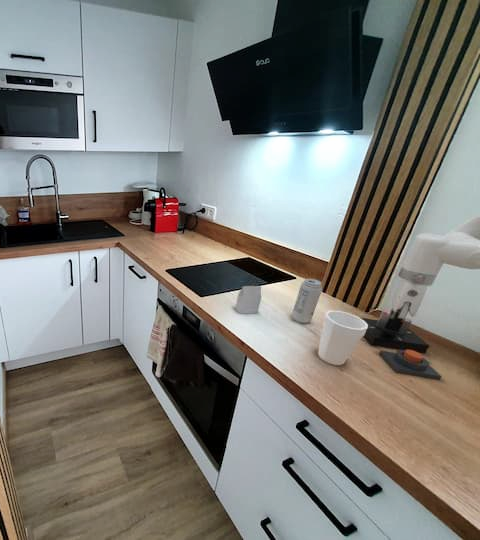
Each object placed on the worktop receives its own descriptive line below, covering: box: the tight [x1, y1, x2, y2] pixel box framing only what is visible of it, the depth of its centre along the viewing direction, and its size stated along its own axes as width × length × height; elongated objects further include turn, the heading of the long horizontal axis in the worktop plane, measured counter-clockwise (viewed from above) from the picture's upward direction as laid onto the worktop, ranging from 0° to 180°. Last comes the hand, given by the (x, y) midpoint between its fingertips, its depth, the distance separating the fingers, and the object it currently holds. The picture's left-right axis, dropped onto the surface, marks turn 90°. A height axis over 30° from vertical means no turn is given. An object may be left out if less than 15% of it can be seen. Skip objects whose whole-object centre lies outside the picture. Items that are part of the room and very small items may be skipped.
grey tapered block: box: [235, 285, 262, 314], centre depth 103 cm, size 4×7×10 cm, turn 95°
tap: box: [376, 311, 413, 335], centre depth 90 cm, size 7×2×5 cm, turn 51°
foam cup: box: [317, 310, 368, 366], centre depth 80 cm, size 10×9×13 cm
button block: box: [378, 349, 442, 381], centre depth 80 cm, size 10×8×3 cm
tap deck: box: [360, 317, 430, 354], centre depth 92 cm, size 14×12×3 cm
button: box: [403, 350, 424, 363], centre depth 79 cm, size 4×4×2 cm
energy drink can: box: [291, 278, 323, 325], centre depth 98 cm, size 6×6×15 cm
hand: (391, 327), depth 91 cm, fingers closed on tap, 2 cm apart
